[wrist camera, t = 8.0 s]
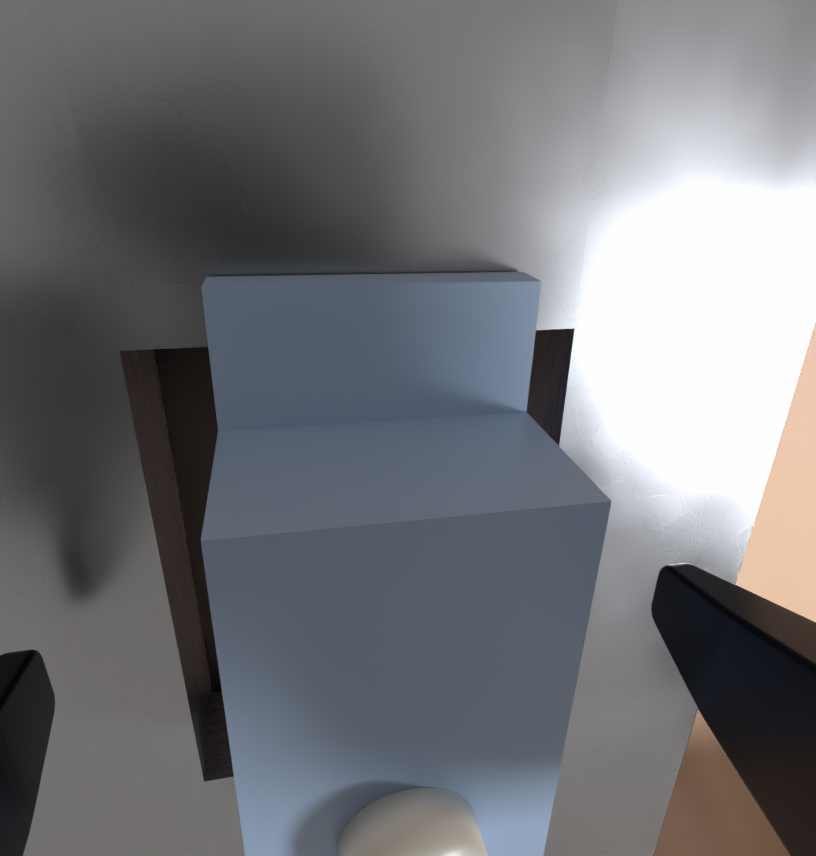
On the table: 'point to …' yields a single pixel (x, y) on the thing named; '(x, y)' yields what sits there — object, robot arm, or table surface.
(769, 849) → the table surface
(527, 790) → the servo
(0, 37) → the chassis plate
